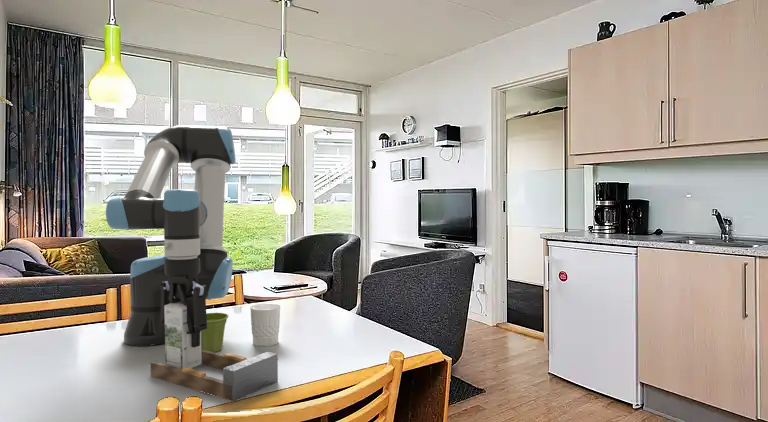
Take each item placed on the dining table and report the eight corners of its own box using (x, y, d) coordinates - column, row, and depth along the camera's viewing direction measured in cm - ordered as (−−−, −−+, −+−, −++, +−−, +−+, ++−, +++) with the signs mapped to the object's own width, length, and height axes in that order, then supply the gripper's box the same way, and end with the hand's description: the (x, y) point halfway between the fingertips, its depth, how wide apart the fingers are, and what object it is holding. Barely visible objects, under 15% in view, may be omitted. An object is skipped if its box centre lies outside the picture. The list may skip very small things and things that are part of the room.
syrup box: (202, 364, 111) (202, 301, 111) (182, 372, 106) (181, 306, 105) (184, 360, 113) (184, 299, 113) (163, 368, 108) (163, 304, 108)
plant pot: (206, 358, 118) (205, 323, 118) (182, 351, 123) (182, 318, 123) (236, 348, 126) (236, 315, 126) (212, 342, 131) (212, 311, 131)
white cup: (272, 348, 126) (272, 310, 126) (245, 346, 128) (245, 309, 127) (285, 339, 134) (284, 303, 133) (258, 338, 135) (258, 302, 135)
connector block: (223, 398, 94) (223, 368, 94) (267, 378, 104) (267, 351, 104) (233, 401, 92) (233, 371, 92) (277, 381, 103) (277, 353, 103)
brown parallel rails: (150, 376, 106) (150, 360, 106) (197, 360, 116) (197, 345, 116) (231, 401, 93) (231, 383, 93) (276, 380, 103) (276, 364, 103)
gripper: (141, 256, 111) (143, 355, 111) (195, 261, 101) (196, 370, 101) (171, 253, 117) (172, 347, 118) (224, 258, 107) (225, 360, 108)
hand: (183, 357), depth 110 cm, fingers closed on syrup box, 6 cm apart
